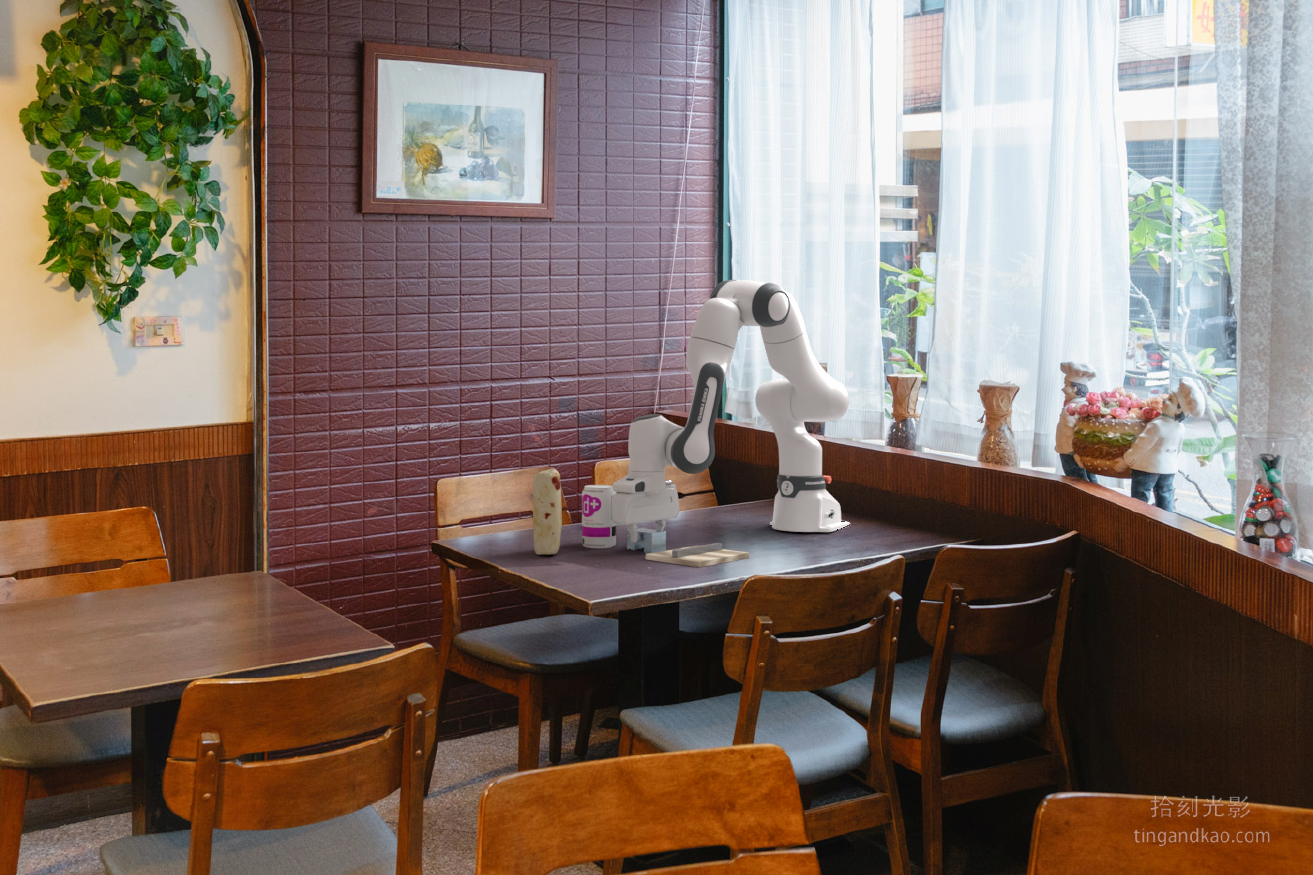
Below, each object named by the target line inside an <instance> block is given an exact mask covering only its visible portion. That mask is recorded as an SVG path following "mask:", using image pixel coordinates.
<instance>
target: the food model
mask: <svg viewBox="0 0 1313 875" xmlns="http://www.w3.org/2000/svg"><path fill="white" fill-rule="evenodd" d="M532 484H533V487H532V488H533V491H532V492H533V498H532V500H533V501H532V522H533V524H532V526H533V531H532V532H533V547H534V552H535V555H537V556H539V555H541V556H542V555H546V556H547V555H555V554H557V553H558V552H559V550H560V547H561V537H562V535H561V534H562V528H563V524H562V523H563V520H562V519H563V518H562V517H563V514H562V510H563V509H562V487H561V475H560V473H559V471H558V470H557V469H556V468H555V469H554V468H548V469H544V470H542V471H540V472H538V473H537V472H536V473H534V478H533V483H532Z"/></svg>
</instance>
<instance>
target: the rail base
mask: <svg viewBox="0 0 1313 875" xmlns="http://www.w3.org/2000/svg"><path fill="white" fill-rule="evenodd" d="M696 546H697V545H692V546H686V547H685V546H684V547H680V548H679V547H678V548H675V549H674V548H673V549H669V550H668V549H666V551H661V552H655V553H645V560H647V561H652V562H653V561H655V562H661V563H666V564H667V563H668V564H674V565H680V566H681V565H682V566H686V567H687V566H688V567H693V568H703V567H709V566H713V565H719V564H723V563H725V564H726V563H728V562H735V561H739V560H746V559H750V552H747V551H740V550H733V549H732V550H730V549H724V548H722V550H719V551H713V552H708V553H702V554H696V555H691V556H685V557H680V558H675V557H672V550H678V549H684V548H690V547H696Z"/></svg>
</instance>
